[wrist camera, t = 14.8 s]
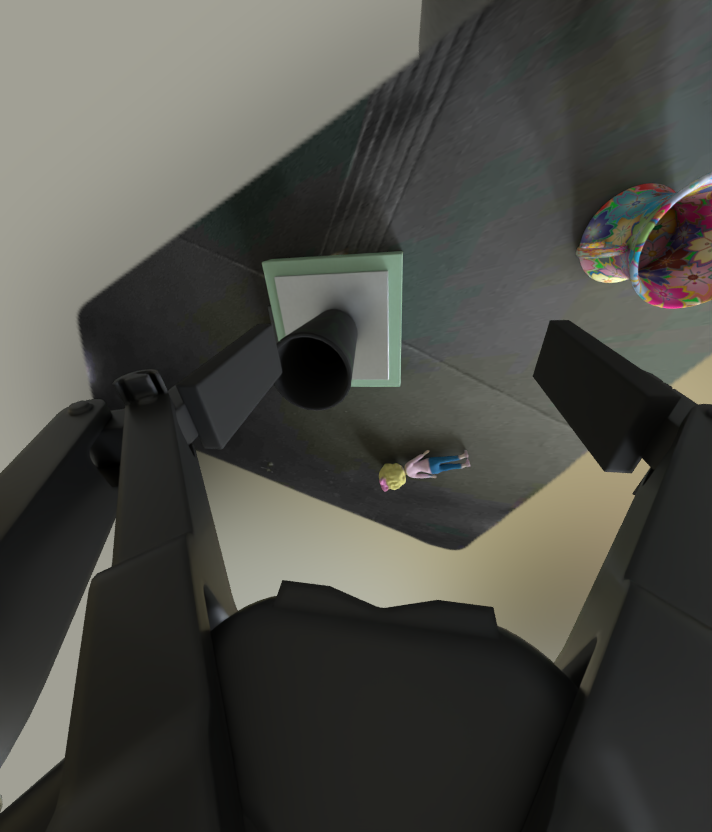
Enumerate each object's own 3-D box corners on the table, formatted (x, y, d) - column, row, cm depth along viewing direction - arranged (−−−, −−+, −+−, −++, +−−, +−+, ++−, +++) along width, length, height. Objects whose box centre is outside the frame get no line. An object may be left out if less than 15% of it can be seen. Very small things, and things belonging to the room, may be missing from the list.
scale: (265, 259, 36) (255, 262, 34) (402, 251, 34) (402, 253, 31) (290, 377, 45) (283, 386, 43) (400, 377, 43) (400, 387, 40)
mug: (698, 170, 27) (837, 147, 18) (656, 280, 32) (749, 302, 23) (553, 192, 29) (616, 181, 21) (535, 291, 34) (579, 316, 26)
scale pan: (276, 275, 34) (273, 276, 34) (388, 269, 32) (388, 270, 32) (296, 377, 42) (294, 379, 41) (388, 377, 40) (388, 379, 39)
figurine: (463, 437, 48) (374, 456, 51) (470, 455, 44) (374, 474, 48) (468, 464, 51) (384, 480, 54) (475, 483, 47) (384, 499, 51)
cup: (294, 311, 36) (252, 347, 26) (353, 290, 33) (331, 320, 23) (320, 368, 39) (291, 418, 29) (374, 352, 37) (363, 401, 27)
